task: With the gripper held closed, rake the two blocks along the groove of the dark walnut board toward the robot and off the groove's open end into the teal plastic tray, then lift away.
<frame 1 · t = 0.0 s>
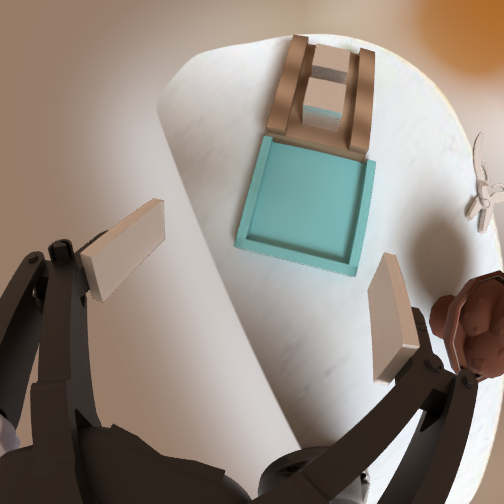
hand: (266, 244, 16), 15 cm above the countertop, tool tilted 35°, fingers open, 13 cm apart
ice cream bowl: (446, 316, 28), on the countertop
groove board: (324, 102, 32), on the countertop
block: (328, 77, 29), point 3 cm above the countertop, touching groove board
tray: (308, 205, 31), on the countertop
pliers: (487, 187, 28), on the countertop
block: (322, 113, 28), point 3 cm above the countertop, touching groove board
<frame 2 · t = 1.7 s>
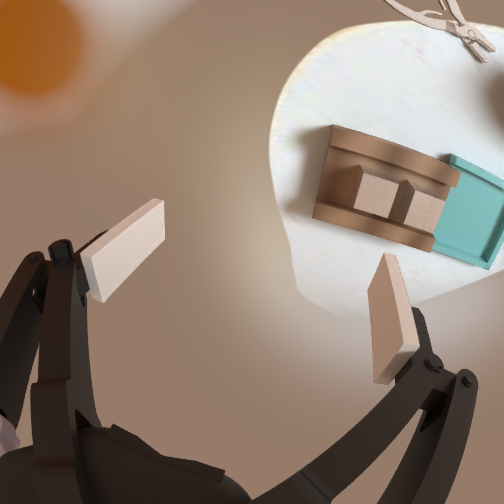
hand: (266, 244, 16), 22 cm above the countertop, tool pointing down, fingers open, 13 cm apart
groove board: (383, 182, 32), on the countertop
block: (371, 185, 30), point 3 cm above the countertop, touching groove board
tray: (471, 213, 30), on the countertop
pliers: (445, 16, 18), on the countertop
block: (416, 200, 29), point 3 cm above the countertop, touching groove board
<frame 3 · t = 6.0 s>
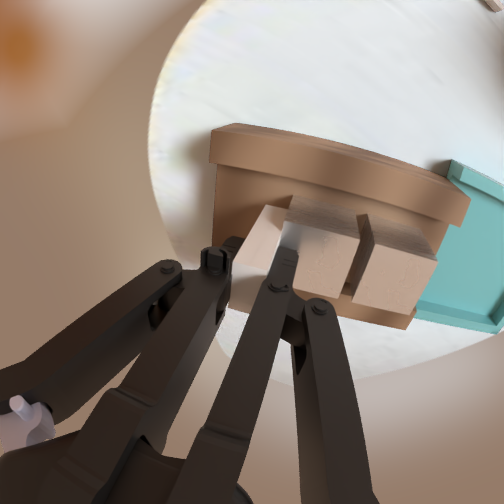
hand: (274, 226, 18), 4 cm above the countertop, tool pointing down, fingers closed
groove board: (330, 214, 20), on the countertop
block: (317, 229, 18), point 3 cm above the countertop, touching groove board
tray: (481, 255, 18), on the countertop
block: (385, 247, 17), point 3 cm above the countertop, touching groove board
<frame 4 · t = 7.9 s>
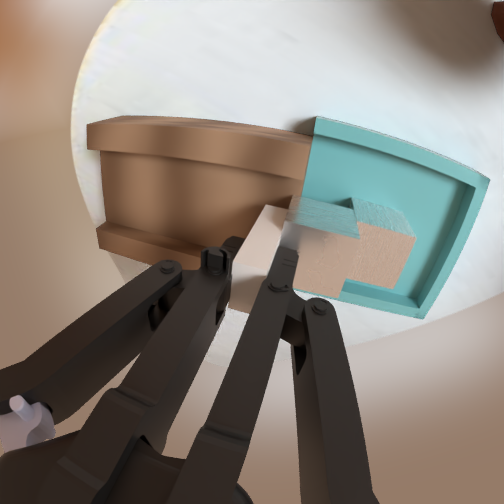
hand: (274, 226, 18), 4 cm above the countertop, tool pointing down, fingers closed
groove board: (200, 186, 22), on the countertop
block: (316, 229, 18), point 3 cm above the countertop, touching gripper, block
tray: (382, 222, 20), on the countertop
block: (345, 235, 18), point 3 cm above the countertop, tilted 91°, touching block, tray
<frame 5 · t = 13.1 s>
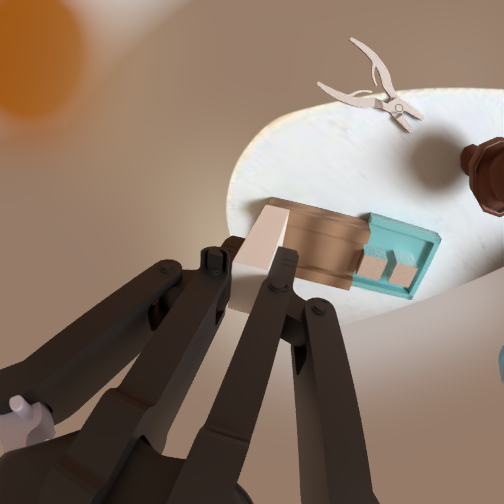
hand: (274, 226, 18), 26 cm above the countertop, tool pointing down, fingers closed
ice cream bowl: (473, 160, 32), on the countertop
groove board: (313, 237, 46), on the countertop
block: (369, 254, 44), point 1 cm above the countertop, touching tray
tray: (392, 256, 44), on the countertop
pliers: (376, 91, 32), on the countertop
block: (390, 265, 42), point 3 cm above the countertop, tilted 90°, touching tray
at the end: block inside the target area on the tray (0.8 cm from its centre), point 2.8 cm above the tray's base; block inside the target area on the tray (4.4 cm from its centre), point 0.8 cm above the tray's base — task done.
